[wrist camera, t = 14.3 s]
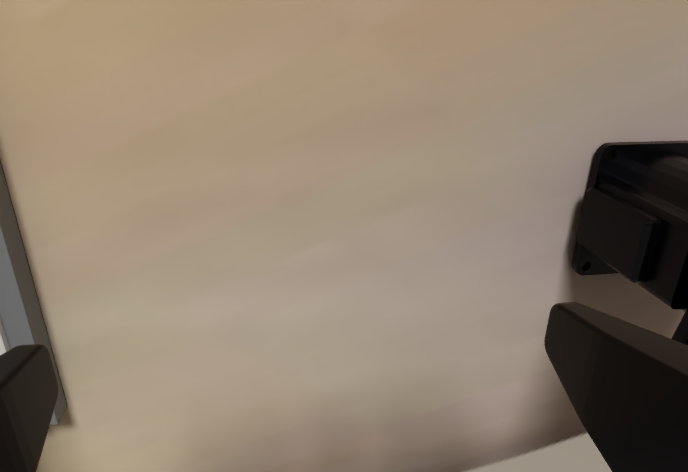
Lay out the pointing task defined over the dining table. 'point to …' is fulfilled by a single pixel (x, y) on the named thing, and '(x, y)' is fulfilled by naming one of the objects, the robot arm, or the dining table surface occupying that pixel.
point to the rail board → (20, 294)
